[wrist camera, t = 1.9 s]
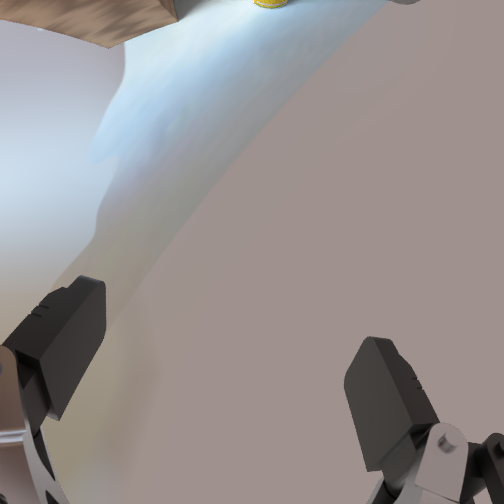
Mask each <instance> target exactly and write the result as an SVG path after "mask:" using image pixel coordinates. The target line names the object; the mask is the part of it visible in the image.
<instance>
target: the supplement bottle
mask: <svg viewBox="0 0 504 504" xmlns="http://www.w3.org/2000/svg"><path fill="white" fill-rule="evenodd" d="M288 1H289V0H251V2H252V3H253V4H255V5H256V6H258V7H260V8H264V9H278V8H281V7H283V6H284V5H286V4H287V3H288Z"/></svg>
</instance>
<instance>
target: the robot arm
mask: <svg viewBox="0 0 504 504" xmlns="http://www.w3.org/2000/svg"><path fill="white" fill-rule="evenodd" d="M390 1H393V2H395V3H399V4H407V5H408V4H413V3H416V2H418V1H419V0H390ZM105 331H106V287H105V283H104V282H103V281H100V280H96V279H93V278H89V277H86V276H82V275H80V276H79V277H78V278H77V279H76V280H75V281H74V282H73V283H72V284H71V285H70V286H69V287H68V288H65V287H61V288H59V289H57V290H55V291H53V292H51V293H49V294H48V295H47V296H46V297H45V298H44V299H43V300H42V301H41V302H40V303H39V306H36V307H35V308H34V309H33V310H32V311H31V314H29V315H28V316H27V317H26V318H25V319H24V320H23V321H22V322H21V323H20V324H19V326H18V327H17V328H16V329H15V330H14V331H13V332H12V333H11V334H10V336H9V337H8V338H7V339H6V340H5V341H4V343H3V344H2V345H0V504H70V503H69V501H68V500H67V498H66V496H65V494H64V492H63V490H62V488H61V485H60V483H59V481H58V478H57V475H56V472H55V469H54V466H53V463H52V460H51V456H50V453H49V450H48V447H47V444H46V440H45V436H44V432H43V429H42V425H41V424H42V423H43V421H44V419H45V417H46V416H48V417H50V418H52V419H55V420H57V421H59V420H60V418H61V417H62V415H63V413H64V410H65V409H66V407H67V405H68V403H69V401H70V399H71V397H72V395H73V393H74V391H75V390H76V388H77V386H78V384H79V382H80V380H81V378H82V377H83V375H84V373H85V371H86V369H87V368H88V366H89V364H90V362H91V361H92V359H93V357H94V355H95V354H96V352H97V350H98V348H99V347H100V345H101V343H102V341H103V339H104V335H105ZM344 389H345V393H346V397H347V400H348V403H349V407H350V410H351V414H352V418H353V421H354V425H355V428H356V432H357V435H358V439H359V443H360V446H361V450H362V454H363V458H364V461H365V465H366V469H367V472H370V471H380V470H382V472H383V476H382V477H381V478H380V479H379V480H378V482H377V484H376V486H375V488H374V490H373V492H372V494H371V495H370V498H369V499H368V501H367V503H366V504H475V502H474V500H473V497H474V496H475V495H477V494H478V493H479V492H481V491H482V490H483V489H485V488H486V487H487V489H488V492H489V495H490V498H491V501H492V503H493V504H504V435H502V434H500V433H493V434H491V435H490V436H489V437H488V438H487V439H486V440H485V441H484V442H483V443H482V444H477V443H471V442H467V440H466V438H465V436H464V434H463V433H462V432H461V431H460V430H459V429H458V428H456V427H455V426H453V425H451V424H448V423H440V421H439V419H438V417H437V415H436V413H435V411H434V409H433V407H432V405H431V403H430V401H429V399H428V397H427V395H426V393H425V392H424V390H422V386H421V384H420V382H419V380H417V376H416V375H415V372H414V371H413V369H412V367H411V366H410V365H409V364H408V362H407V361H405V360H404V359H403V357H402V356H400V355H399V353H398V351H397V349H396V347H395V346H394V344H393V342H392V341H391V340H390V339H386V338H378V337H370V336H369V337H367V338H366V339H365V340H364V341H363V343H362V345H361V346H360V349H359V350H358V352H357V354H356V356H355V358H354V360H353V361H352V363H351V365H350V367H349V368H348V370H347V372H346V375H345V379H344Z"/></svg>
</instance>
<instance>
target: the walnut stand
mask: <svg viewBox="0 0 504 504" xmlns="http://www.w3.org/2000/svg"><path fill="white" fill-rule="evenodd" d="M0 20H6V21H11V22H16V23H20V24H25V25H30V26H34V27H38V28H42V29H46V30H50V31H53V32H57V33H61V34H64V35H68V36H72V37H75V38H78V39H81V40H84V41H87V42H90V43H94V44H97V45H100V46H103V47H105V48H108V49H109V48H111V47H113V46H115V45H118V44H120V43H122V42H125V41H127V40H129V39H132V38H134V37H137V36H139V35H142V34H144V33H147V32H150V31H152V30H155V29H158V28H161V27H164V26H166V25H169V24H172V23H175V22H178V20H177V16H176V11H175V7H174V3H173V0H0Z"/></svg>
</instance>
